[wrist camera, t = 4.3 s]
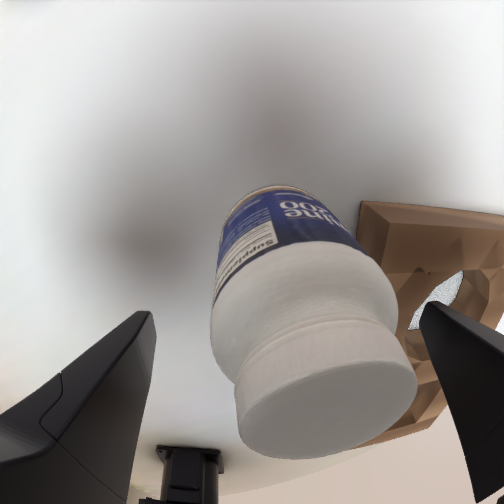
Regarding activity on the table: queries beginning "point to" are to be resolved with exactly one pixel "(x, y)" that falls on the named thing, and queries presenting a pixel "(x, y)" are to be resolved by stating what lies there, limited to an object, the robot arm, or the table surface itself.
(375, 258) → the socket block
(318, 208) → the pill bottle
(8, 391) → the table surface
